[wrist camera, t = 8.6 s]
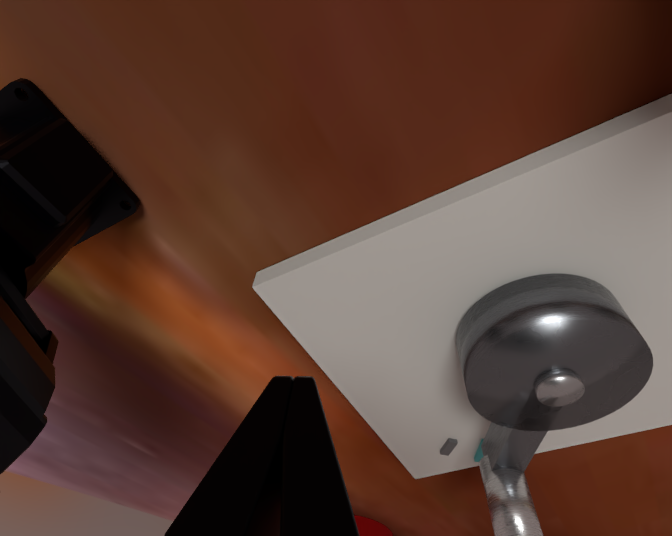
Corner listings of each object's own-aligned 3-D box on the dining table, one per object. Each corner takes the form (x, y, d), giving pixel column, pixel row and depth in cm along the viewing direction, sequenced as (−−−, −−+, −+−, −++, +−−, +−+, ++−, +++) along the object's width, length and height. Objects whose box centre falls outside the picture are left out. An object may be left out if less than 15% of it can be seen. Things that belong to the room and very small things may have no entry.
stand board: (413, 463, 34) (415, 483, 33) (256, 272, 23) (251, 291, 22) (734, 391, 27) (751, 412, 26) (730, 68, 16) (760, 79, 15)
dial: (474, 268, 20) (518, 398, 15) (651, 277, 20) (762, 412, 14) (425, 438, 29) (441, 560, 23) (548, 445, 29) (593, 569, 23)
